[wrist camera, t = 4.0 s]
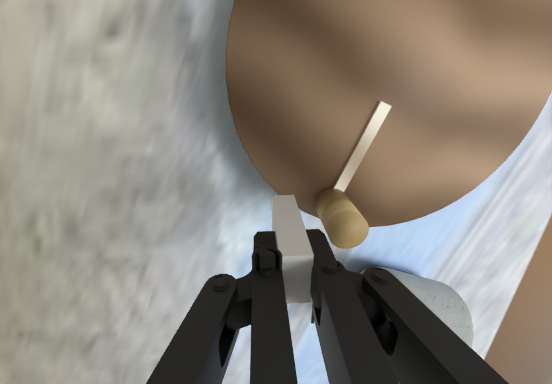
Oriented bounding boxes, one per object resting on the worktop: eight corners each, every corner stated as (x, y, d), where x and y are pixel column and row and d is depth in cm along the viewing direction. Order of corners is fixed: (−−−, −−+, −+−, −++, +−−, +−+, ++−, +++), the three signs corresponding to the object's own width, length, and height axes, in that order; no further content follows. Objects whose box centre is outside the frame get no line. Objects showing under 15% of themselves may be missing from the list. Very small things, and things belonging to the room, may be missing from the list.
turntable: (315, -251, 12) (365, -531, 6) (612, -18, 16) (788, -67, 11) (190, 163, 19) (163, 195, 13) (419, 245, 23) (467, 294, 18)
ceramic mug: (365, 247, 25) (406, 312, 18) (434, 265, 27) (496, 332, 20) (323, 320, 29) (343, 398, 22) (385, 333, 31) (422, 409, 24)
